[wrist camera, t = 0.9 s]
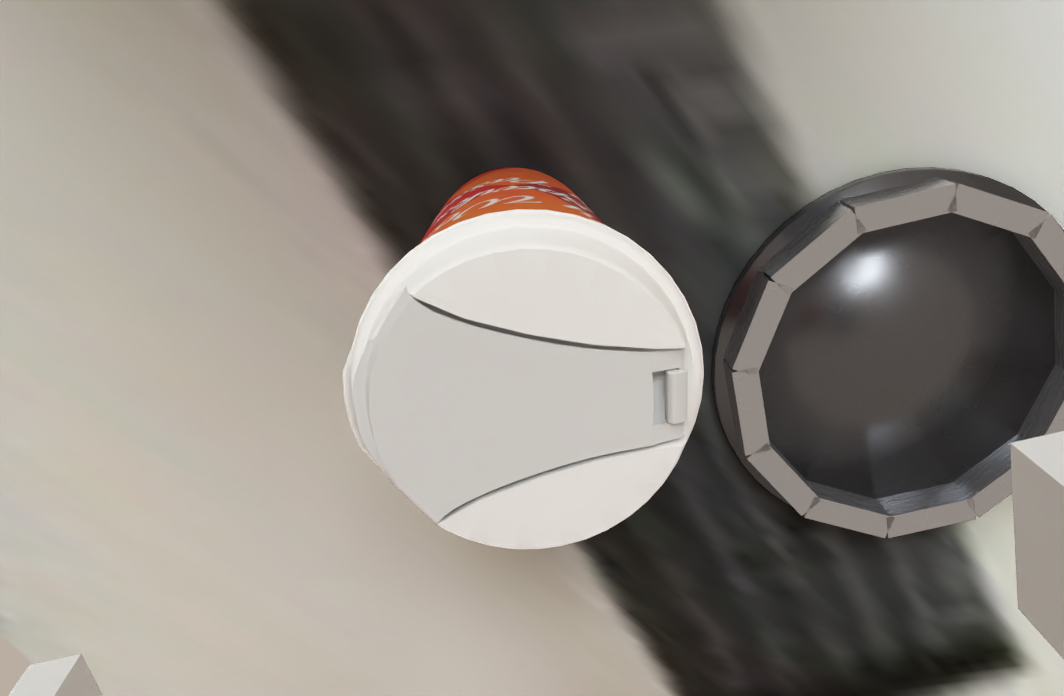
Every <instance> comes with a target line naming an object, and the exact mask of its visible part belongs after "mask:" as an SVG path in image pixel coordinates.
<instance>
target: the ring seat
mask: <svg viewBox="0 0 1064 696" xmlns="http://www.w3.org/2000/svg"><path fill="white" fill-rule="evenodd" d="M711 376H712V386H713V396H714V401H715V405H716V409H717V413H718V417H719V420H720V422H721V425H722V427H723V430H724V432H725V434H726V437H727V439H728V441H729V442H730V444H731V446H732V447H733V449H734V451H735V452H736V454H737V456H738V457H739V459H740V461H741V462H742V464H743V465H744V466H745V467H746V468H747V470H748V471H749V472H750V473H751V475H752V476H753V477H754V478H755V479H756V480H757V481H758V482H759V483H760V484H761V485H763V486H764V487H765V488H766V489H767V490H768V491H769V492H770V493H772V494H773V495H775V496H776V497H778V498H779V499H781V500H782V501H784V502H785V503H787V504H789V505H791V506H792V507H793V508H794V509H795V510H796V511H797V512H798V513H799V514H800V515H801V516H802V515H803V516H804V518H808V519H812V520H815V521H819V522H823V523H827V524H831V525H835V526H839V527H843V528H847V529H851V530H855V531H859V532H862V533H866V534H870V535H874V536H878V537H882V538H885V537H886V536H887V537H888V538H892V537H896V536H901V535H905V534H910V533H914V532H919V531H923V530H928V529H933V528H937V527H942V526H946V525H951V524H955V523H960V522H964V521H969V520H973V519H976V515H977V516H978V517H980V516H982V515H983V514H985V513H986V512H987V511H989V510H990V509H991V508H993V507H994V506H995V505H997V504H998V503H1000V502H1001V501H1002V500H1004V499H1005V498H1006V497H1008V496H1009V495H1010V494H1012V493H1013V491H1012V469H1011V448H1010V443H1013V442H1017V441H1021V440H1026V439H1030V438H1035V437H1039V436H1044V435H1048V434H1052V433H1057V432H1061V431H1064V230H1063V229H1062V228H1061V226H1060V225H1059V224H1058V223H1057V221H1056V220H1055V219H1054V217H1053V216H1052V215H1051V214H1049V213H1048V212H1047V211H1046V210H1044V209H1043V208H1042V207H1041V206H1040V205H1038V204H1037V203H1036V202H1035V201H1034V200H1032V199H1031V198H1029V197H1027V196H1026V195H1024V194H1023V193H1021V192H1019V191H1018V190H1016V189H1014V188H1013V187H1010V186H1008V185H1005V184H1003V183H1000V182H998V181H996V180H993V179H991V178H988V177H984V176H981V175H977V174H973V173H969V172H965V171H961V170H955V169H945V168H935V167H925V168H905V169H899V170H893V171H887V172H881V173H878V174H874V175H871V176H868V177H864V178H861V179H858V180H854V181H852V182H850V183H848V184H845V185H843V186H841V187H839V188H836V189H834V190H832V191H830V192H828V193H826V194H824V195H823V196H821V197H819V198H818V199H816V200H814V201H813V202H811V203H809V204H808V205H806V206H805V207H803V208H802V209H801V210H799V211H798V212H797V213H796V214H794V215H793V216H792V217H790V218H789V219H788V220H786V221H785V222H784V223H783V224H782V225H781V226H780V227H779V228H778V229H777V230H776V231H775V232H774V233H773V234H772V235H771V236H769V237H768V238H767V239H766V240H765V242H764V243H763V244H762V245H761V246H760V248H759V249H758V250H757V251H756V253H755V254H754V255H753V256H752V258H751V259H750V260H749V261H748V263H747V264H746V266H745V268H744V269H743V271H742V272H741V274H740V276H739V277H738V279H737V280H736V282H735V284H734V286H733V288H732V290H731V292H730V294H729V296H728V299H727V301H726V303H725V305H724V308H723V311H722V314H721V317H720V320H719V323H718V326H717V330H716V335H715V341H714V346H713V352H712V374H711ZM975 514H976V515H975Z"/></svg>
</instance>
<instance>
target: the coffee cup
mask: <svg viewBox="0 0 1064 696" xmlns="http://www.w3.org/2000/svg"><path fill="white" fill-rule="evenodd" d="M342 376H343V393H344V401H345V406H346V410H347V414H348V419H349V423H350V426H351V428H352V430H353V433H354V435H355V438H356V440H357V442H358V445H359V447H360V448H361V449H362V450H363V451H364V453H365V454H366V455H367V456H368V457H369V458H370V459H371V460H372V461H373V462H374V463H375V464H376V465H377V467H378V468H379V469H380V470H381V471H382V472H383V473H384V474H385V476H386V477H387V478H388V479H389V480H390V481H391V483H392V484H393V485H394V486H395V487H396V488H397V489H398V490H399V491H400V492H402V493H403V494H404V495H405V496H406V497H408V498H409V499H410V500H411V501H412V502H413V503H414V504H415V505H416V506H417V507H418V508H419V509H420V510H421V511H422V512H423V513H425V514H426V515H427V516H428V517H429V518H430V519H431V520H432V521H433V522H434V523H435V524H436V525H438V526H440V527H441V528H443V529H444V530H446V531H449V532H451V533H453V534H456V535H458V536H460V537H463V538H465V539H467V540H471V541H474V542H478V543H481V544H485V545H489V546H494V547H501V548H509V549H544V548H551V547H558V546H564V545H567V544H571V543H574V542H578V541H581V540H585V539H588V538H590V537H592V536H595V535H597V534H599V533H601V532H604V531H606V530H608V529H610V528H611V527H613V526H615V525H616V524H618V523H620V522H621V521H623V520H624V519H626V518H628V517H629V516H630V515H632V514H633V513H634V512H635V511H636V510H638V509H639V508H640V507H641V506H642V505H644V504H645V503H646V502H647V501H648V500H649V499H650V498H651V497H652V496H653V495H654V493H655V492H656V491H657V490H658V489H659V488H660V487H661V486H662V485H663V483H664V482H665V480H666V479H667V477H668V476H669V474H670V473H671V471H672V470H673V468H674V467H675V465H676V464H677V462H678V459H679V457H680V455H681V453H682V451H683V448H684V446H685V444H686V442H687V440H688V438H689V435H690V433H691V431H692V429H693V426H694V424H695V421H696V417H697V414H698V410H699V406H700V402H701V398H702V388H703V377H704V368H703V354H702V345H701V341H700V337H699V333H698V329H697V325H696V322H695V319H694V317H693V315H692V313H691V310H690V308H689V306H688V304H687V301H686V299H685V297H684V296H683V294H682V293H681V291H680V290H679V288H678V287H677V285H676V283H675V282H674V280H673V279H672V277H671V276H670V274H669V273H668V272H667V271H666V270H665V269H664V268H663V267H662V266H661V265H660V264H659V263H658V262H657V261H656V260H655V259H654V257H653V256H652V255H651V254H649V253H648V252H647V251H645V250H644V249H643V248H642V247H640V246H639V245H638V244H636V243H635V242H634V241H632V240H631V239H630V238H628V237H627V236H625V235H623V234H621V233H619V232H617V231H615V230H613V229H611V228H610V227H608V226H606V225H604V224H603V223H602V222H601V220H600V219H599V218H598V217H597V216H596V215H595V214H594V213H593V212H592V211H591V210H590V209H589V208H588V207H587V206H586V205H585V203H584V202H583V201H582V200H581V199H580V198H579V197H578V196H577V195H575V194H574V193H573V192H572V191H571V190H570V189H569V188H567V187H566V186H565V185H564V184H562V183H561V182H559V181H558V180H556V179H554V178H553V177H551V176H549V175H547V174H544V173H542V172H539V171H536V170H532V169H526V168H516V167H513V168H501V169H496V170H492V171H488V172H486V173H483V174H481V175H478V176H476V177H475V178H473V179H471V180H470V181H468V182H467V183H465V184H464V185H463V186H461V187H460V188H459V189H458V190H457V191H456V192H455V193H454V194H453V195H452V196H451V197H450V198H449V200H448V201H447V202H446V204H445V205H444V206H443V208H442V209H441V211H440V212H439V214H438V215H437V217H436V218H435V220H434V221H433V223H432V224H431V226H430V228H429V229H428V231H427V233H426V234H425V236H424V238H423V239H422V241H421V242H420V244H419V245H418V246H416V247H415V248H414V249H412V250H411V251H409V252H408V253H407V254H406V255H405V256H404V257H403V258H402V259H401V260H400V261H399V262H398V263H397V264H396V265H395V266H394V267H393V268H392V269H391V270H390V271H389V272H388V273H387V275H386V276H385V277H384V279H383V280H382V282H381V283H380V284H379V286H378V287H377V288H376V290H375V291H374V293H373V294H372V296H371V298H370V300H369V302H368V304H367V306H366V308H365V310H364V312H363V314H362V316H361V318H360V320H359V324H358V327H357V330H356V334H355V337H354V340H353V344H352V347H351V350H350V352H349V355H348V358H347V361H346V364H345V366H344V369H343V372H342Z"/></svg>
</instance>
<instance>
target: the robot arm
mask: <svg viewBox="0 0 1064 696" xmlns="http://www.w3.org/2000/svg"><path fill="white" fill-rule="evenodd" d="M1010 448H1011V469H1012V491H1013V512H1014V534H1015V555H1016V576H1017V598H1018V609H1019V610H1020V611H1021V612H1022V613H1023V615H1024V616H1025V617H1026V618H1027V619H1028V620H1029V621H1030V622H1031V623H1032V625H1033V626H1034V627H1035V628H1036V629H1037V630H1038V631H1039V632H1040V633H1041V635H1042V636H1043V637H1044V638H1045V639H1046V640H1047V641H1048V642H1049V644H1050V645H1051V646H1052V647H1053V648H1054V649H1055V650H1056V651H1057V652H1058V654H1059V655H1060V656H1061V657H1062V658H1063V659H1064V431H1061V432H1057V433H1052V434H1048V435H1044V436H1039V437H1035V438H1030V439H1026V440H1021V441H1017V442H1013V443H1010ZM8 696H103V695H102V693H101V691H100V689H99V687H98V685H97V683H96V681H95V679H94V677H93V675H92V673H91V671H90V669H89V668H88V666H87V664H86V662H85V660H84V658H83V656H82V654H77V655H72V656H68V657H64V658H59V659H55V660H50V661H46V662H42V663H37V664H33V665H29V667H28V668H27V669H26V671H25V672H24V674H23V675H22V676H21V678H20V679H19V681H18V682H17V684H16V685H15V686H14V688H13V689H12V690H11V692H10V693H9V695H8Z"/></svg>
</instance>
